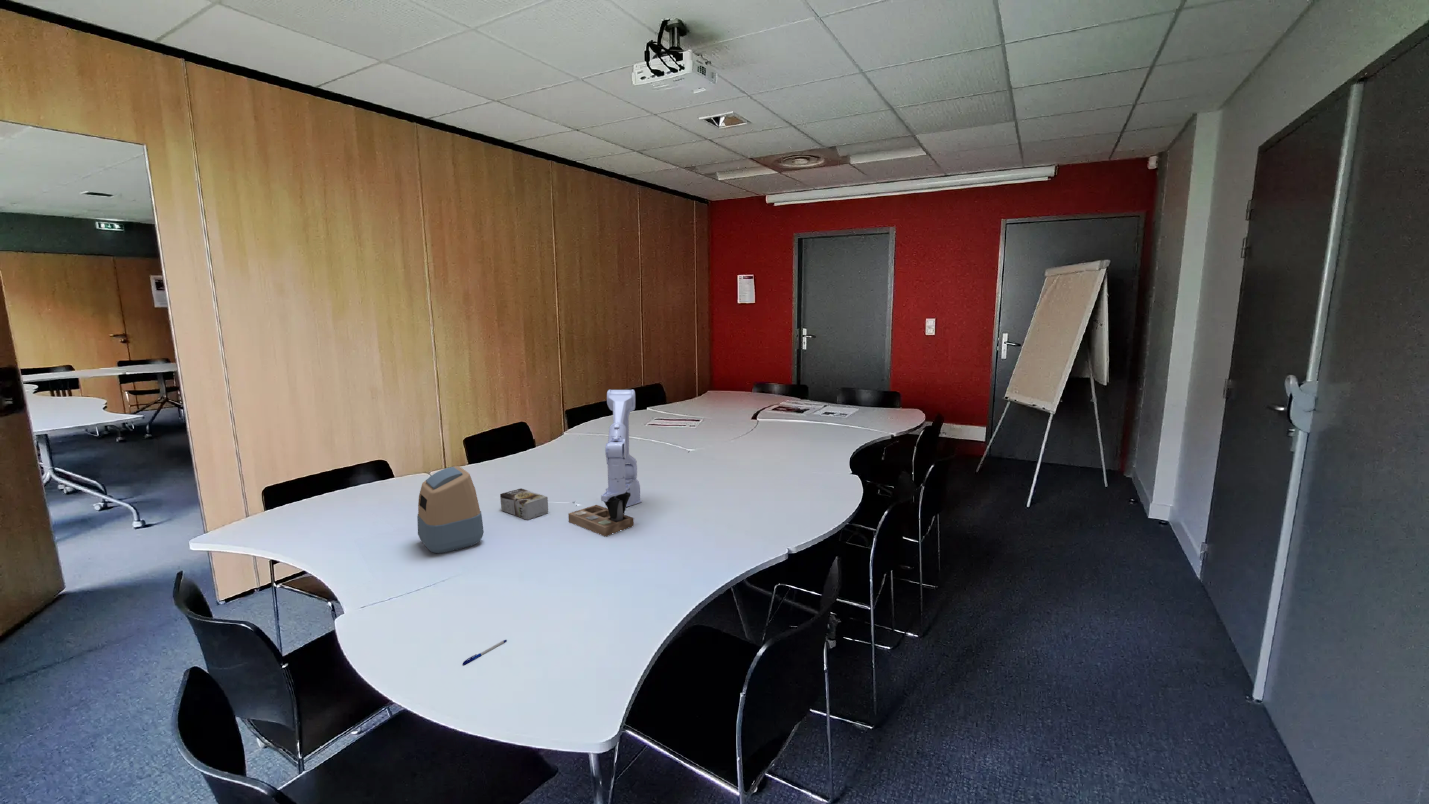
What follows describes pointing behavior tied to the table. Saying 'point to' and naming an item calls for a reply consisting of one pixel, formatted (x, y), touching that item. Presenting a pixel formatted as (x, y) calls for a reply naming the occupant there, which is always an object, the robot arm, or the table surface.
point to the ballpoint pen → (482, 653)
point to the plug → (619, 512)
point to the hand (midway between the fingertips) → (617, 516)
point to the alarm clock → (449, 511)
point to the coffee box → (524, 503)
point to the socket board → (599, 520)
